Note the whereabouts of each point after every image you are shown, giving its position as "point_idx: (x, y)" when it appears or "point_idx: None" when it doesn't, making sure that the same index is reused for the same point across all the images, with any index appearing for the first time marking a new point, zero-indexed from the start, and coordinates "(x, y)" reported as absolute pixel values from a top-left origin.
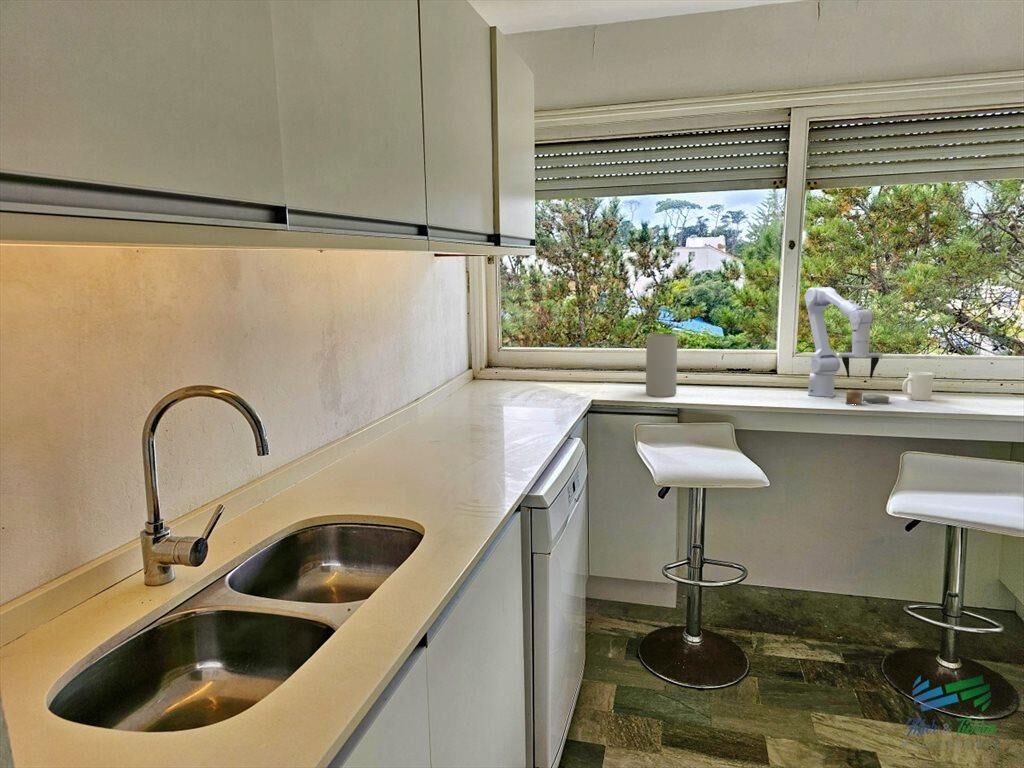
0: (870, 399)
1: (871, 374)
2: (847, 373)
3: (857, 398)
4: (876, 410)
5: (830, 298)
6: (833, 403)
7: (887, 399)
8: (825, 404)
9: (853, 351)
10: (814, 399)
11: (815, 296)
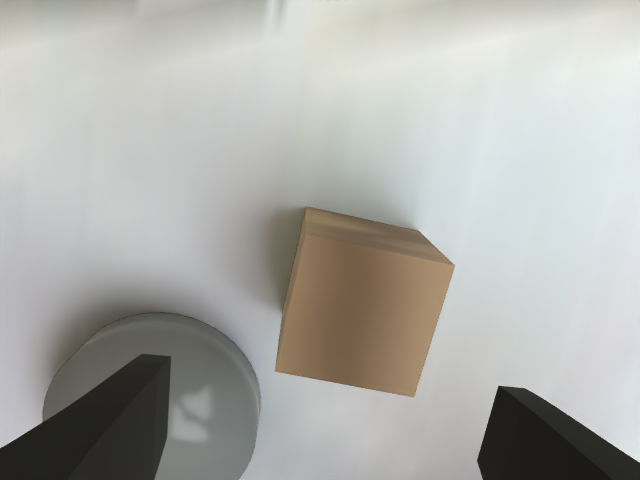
0: (206, 343)
1: (126, 381)
2: (575, 424)
3: (338, 226)
4: (199, 5)
5: None
6: (510, 259)
7: (64, 364)
8: (589, 200)
9: None
10: (619, 391)
11: None
